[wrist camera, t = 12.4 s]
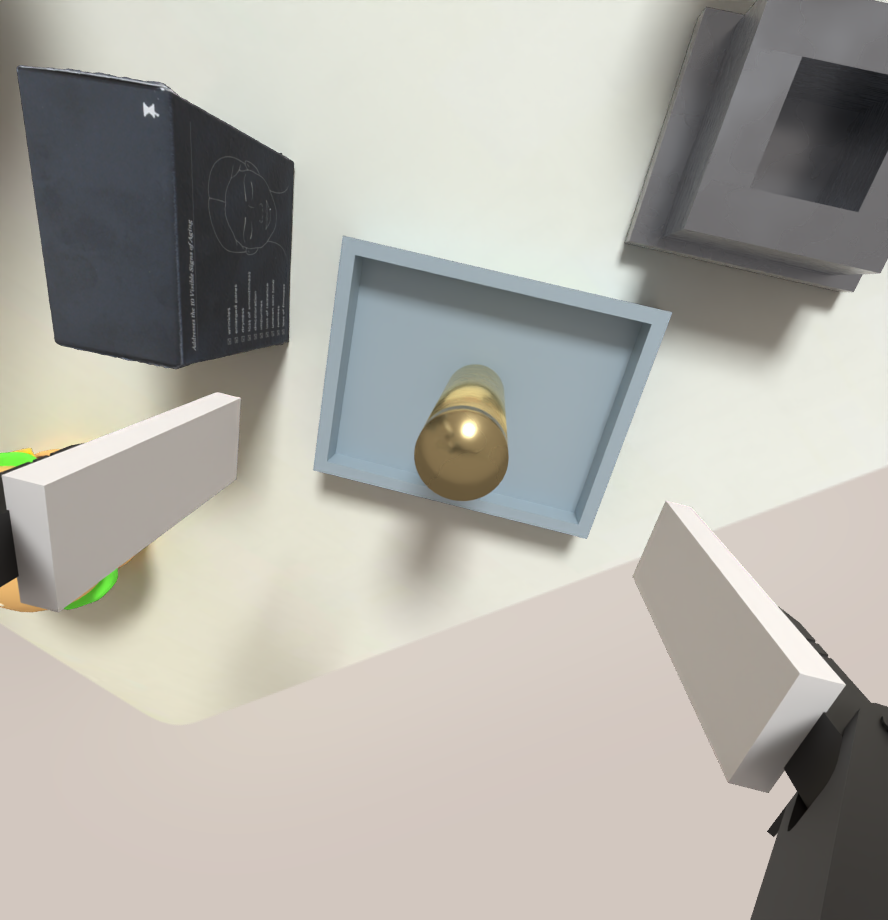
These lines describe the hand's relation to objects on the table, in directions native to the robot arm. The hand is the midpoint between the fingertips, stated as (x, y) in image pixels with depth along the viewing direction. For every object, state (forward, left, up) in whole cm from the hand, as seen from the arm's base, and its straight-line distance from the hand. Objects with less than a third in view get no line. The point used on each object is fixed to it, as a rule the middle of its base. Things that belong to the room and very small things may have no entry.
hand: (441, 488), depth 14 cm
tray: (0, 0, -17) cm, 16 cm away
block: (+12, +15, -17) cm, 25 cm away
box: (-16, +5, -17) cm, 23 cm away
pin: (0, 0, -16) cm, 16 cm away
